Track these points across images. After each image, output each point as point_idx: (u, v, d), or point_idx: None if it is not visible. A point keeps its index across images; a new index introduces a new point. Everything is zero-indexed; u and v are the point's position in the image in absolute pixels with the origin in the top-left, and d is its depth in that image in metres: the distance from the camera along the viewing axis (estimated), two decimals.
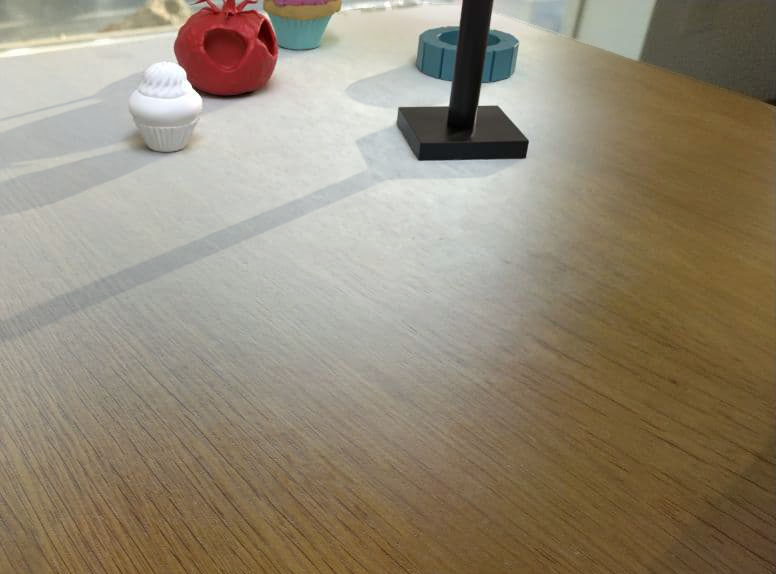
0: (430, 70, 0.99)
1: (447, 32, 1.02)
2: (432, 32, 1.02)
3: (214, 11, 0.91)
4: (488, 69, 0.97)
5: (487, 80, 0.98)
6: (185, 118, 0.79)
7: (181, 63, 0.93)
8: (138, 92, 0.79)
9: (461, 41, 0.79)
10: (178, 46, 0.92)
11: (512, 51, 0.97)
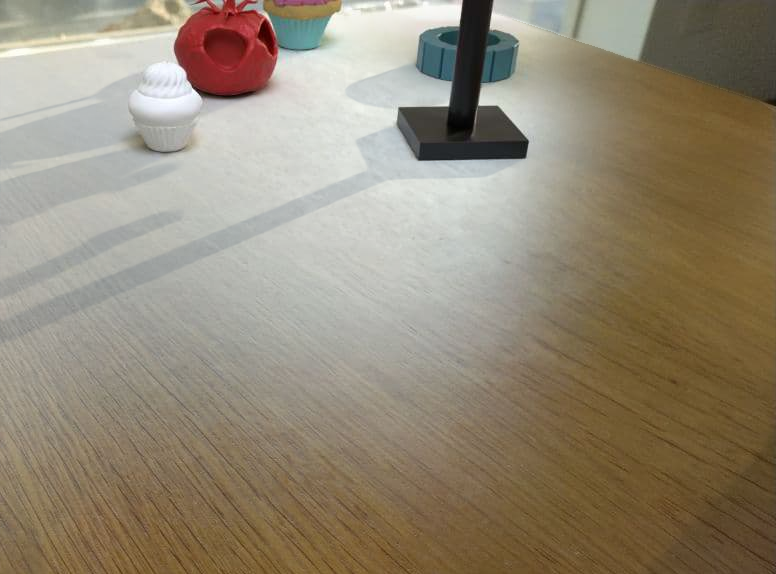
0: (430, 70, 0.99)
1: (447, 32, 1.02)
2: (432, 32, 1.02)
3: (214, 11, 0.91)
4: (488, 69, 0.97)
5: (487, 80, 0.98)
6: (185, 118, 0.79)
7: (181, 63, 0.93)
8: (138, 92, 0.79)
9: (461, 41, 0.79)
10: (178, 46, 0.92)
11: (512, 51, 0.97)
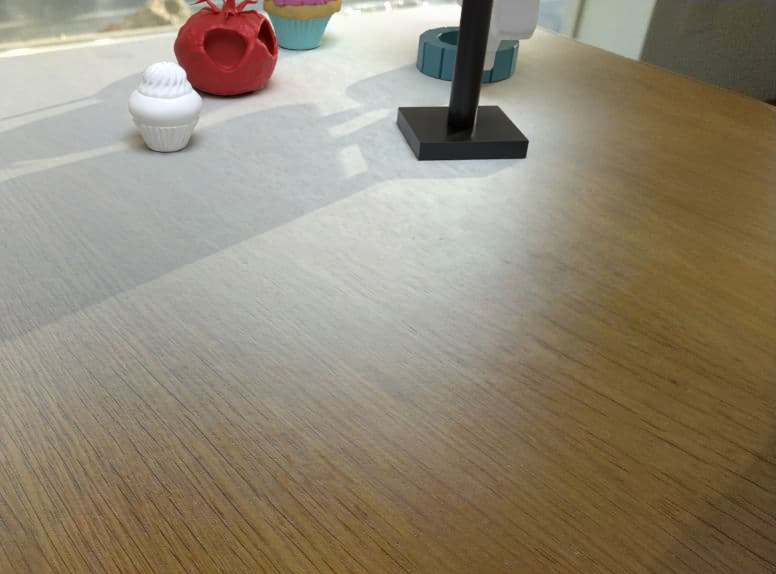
0: (430, 70, 0.99)
1: (447, 32, 1.02)
2: (432, 32, 1.02)
3: (214, 11, 0.91)
4: None
5: (487, 80, 0.97)
6: (185, 118, 0.79)
7: (181, 63, 0.93)
8: (138, 92, 0.79)
9: (461, 41, 0.79)
10: (178, 46, 0.92)
11: (512, 51, 0.97)
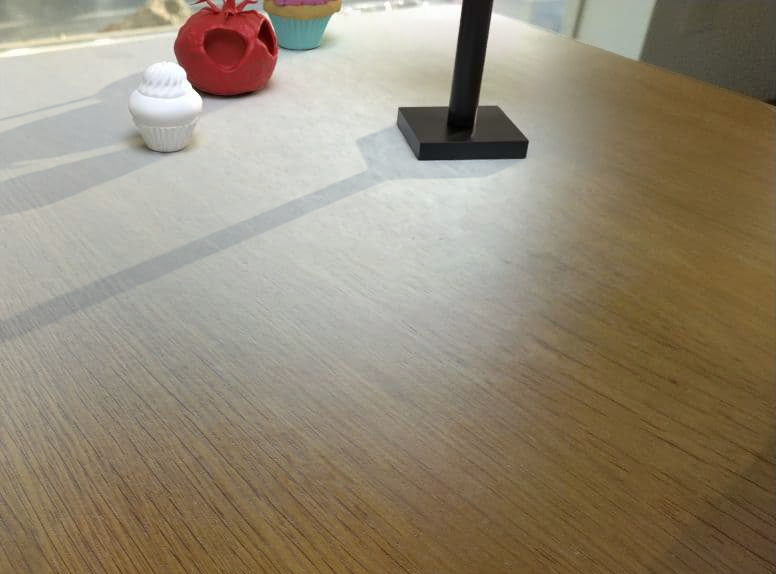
0: None
1: None
2: None
3: (214, 11, 0.91)
4: None
5: None
6: (185, 118, 0.79)
7: (181, 63, 0.93)
8: (138, 92, 0.79)
9: (461, 41, 0.79)
10: (178, 46, 0.92)
11: None
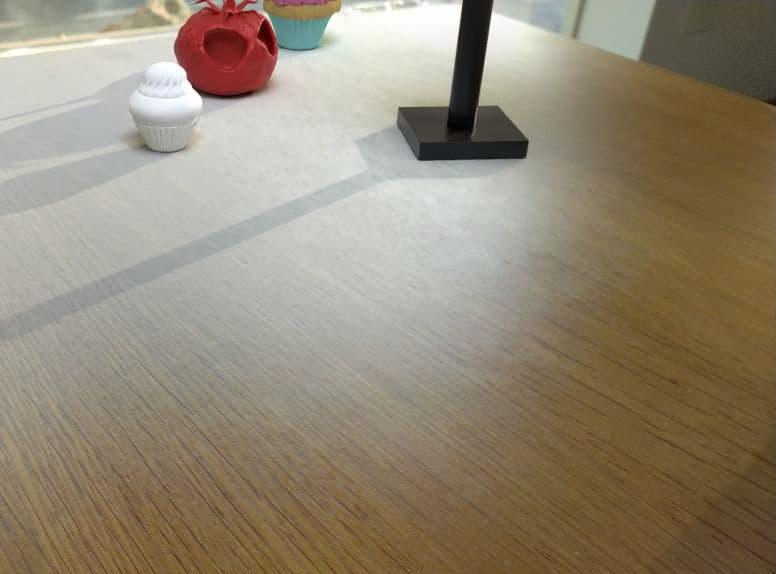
0: None
1: None
2: None
3: (214, 11, 0.91)
4: None
5: None
6: (185, 118, 0.79)
7: (181, 63, 0.93)
8: (138, 92, 0.79)
9: (461, 41, 0.79)
10: (178, 46, 0.92)
11: None
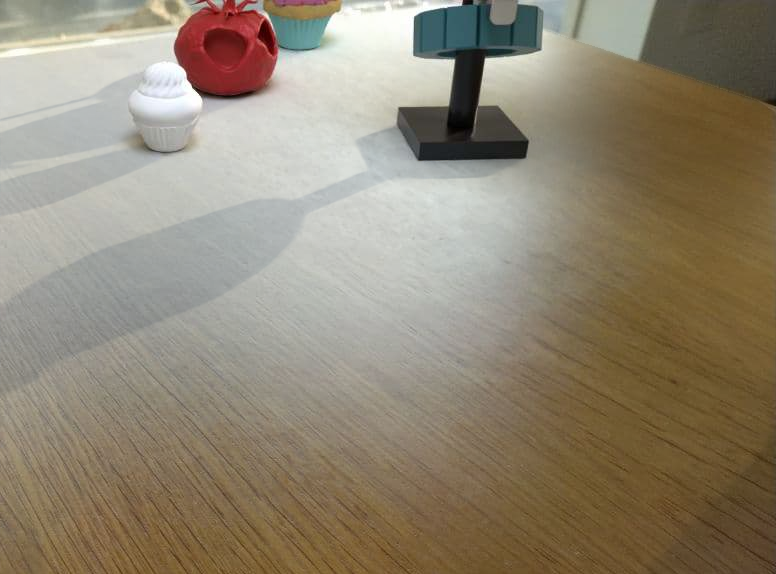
0: (431, 43, 0.76)
1: None
2: None
3: (214, 11, 0.91)
4: (507, 28, 0.74)
5: (507, 43, 0.74)
6: (185, 118, 0.79)
7: (181, 63, 0.93)
8: (138, 92, 0.79)
9: None
10: (178, 46, 0.92)
11: (536, 11, 0.75)
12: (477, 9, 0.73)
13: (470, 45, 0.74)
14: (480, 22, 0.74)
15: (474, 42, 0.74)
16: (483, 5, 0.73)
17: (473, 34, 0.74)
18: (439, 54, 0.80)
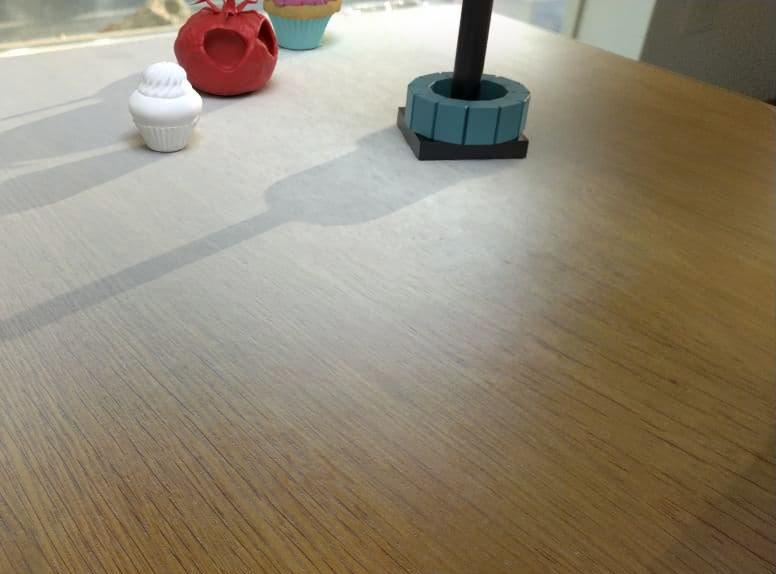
0: (421, 128, 0.80)
1: (442, 80, 0.83)
2: (424, 80, 0.83)
3: (214, 11, 0.91)
4: (492, 129, 0.78)
5: (491, 142, 0.79)
6: (185, 118, 0.79)
7: (181, 63, 0.93)
8: (138, 92, 0.79)
9: (461, 41, 0.79)
10: (178, 46, 0.92)
11: (522, 106, 0.79)
12: (466, 112, 0.77)
13: (456, 142, 0.79)
14: (467, 123, 0.78)
15: (460, 140, 0.79)
16: (471, 109, 0.77)
17: (460, 133, 0.78)
18: None
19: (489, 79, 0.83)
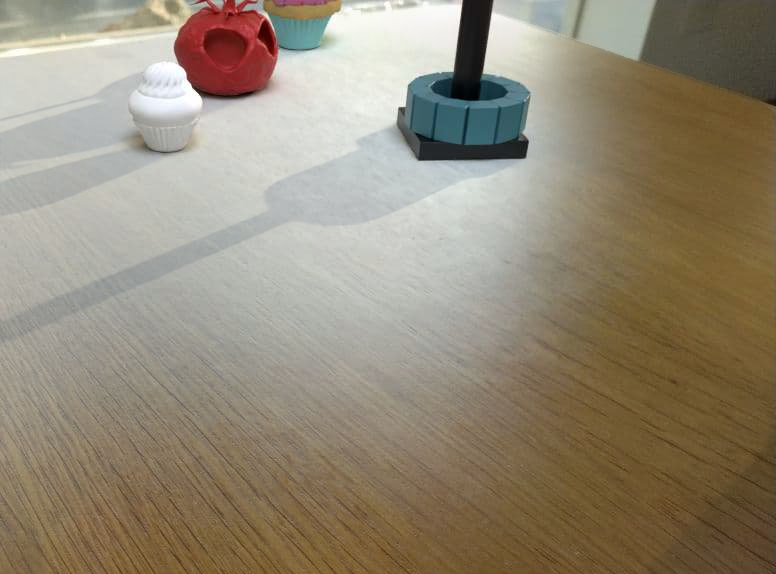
0: (421, 128, 0.80)
1: (442, 80, 0.83)
2: (424, 80, 0.83)
3: (214, 11, 0.91)
4: (492, 129, 0.78)
5: (491, 142, 0.79)
6: (185, 118, 0.79)
7: (181, 63, 0.93)
8: (138, 92, 0.79)
9: (461, 41, 0.79)
10: (178, 46, 0.92)
11: (522, 106, 0.79)
12: (466, 112, 0.77)
13: (456, 142, 0.79)
14: (467, 123, 0.78)
15: (460, 140, 0.79)
16: (471, 109, 0.77)
17: (460, 133, 0.78)
18: None
19: (489, 79, 0.83)
